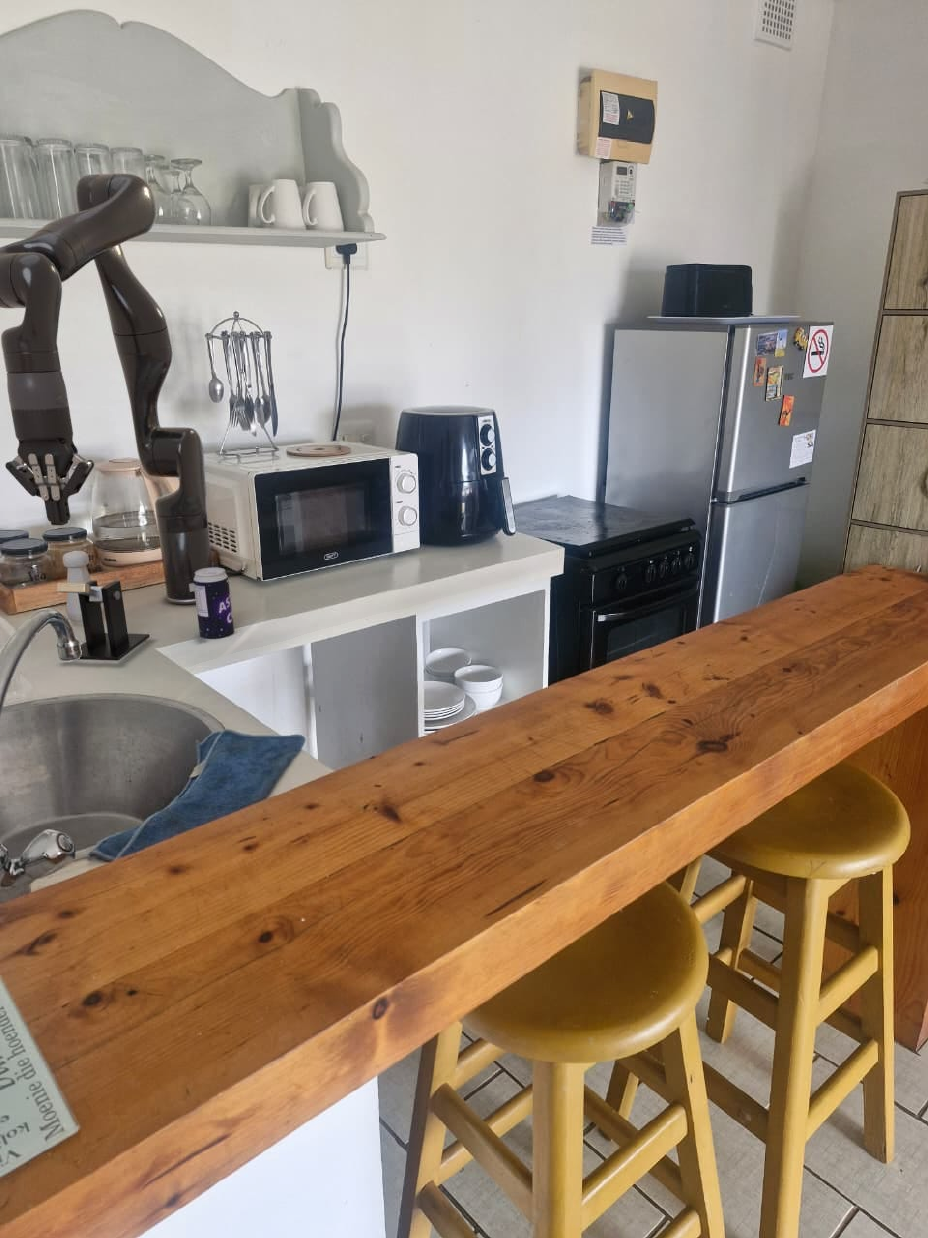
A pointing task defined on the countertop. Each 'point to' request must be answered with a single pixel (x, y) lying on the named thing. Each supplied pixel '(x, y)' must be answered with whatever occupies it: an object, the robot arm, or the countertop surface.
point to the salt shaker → (76, 580)
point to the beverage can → (213, 603)
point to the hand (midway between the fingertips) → (59, 524)
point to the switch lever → (82, 590)
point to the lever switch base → (117, 637)
